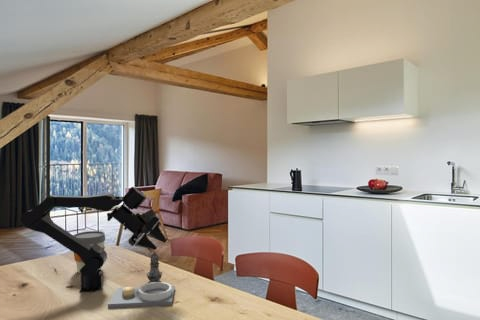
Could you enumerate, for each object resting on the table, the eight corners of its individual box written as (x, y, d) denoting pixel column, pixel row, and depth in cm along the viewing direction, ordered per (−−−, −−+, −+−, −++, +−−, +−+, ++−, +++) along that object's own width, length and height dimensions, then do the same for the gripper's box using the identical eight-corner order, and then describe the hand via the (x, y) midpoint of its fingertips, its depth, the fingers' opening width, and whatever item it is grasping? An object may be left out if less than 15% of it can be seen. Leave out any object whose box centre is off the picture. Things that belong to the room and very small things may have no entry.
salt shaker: (158, 286, 125) (158, 254, 125) (143, 285, 126) (143, 253, 126) (164, 280, 131) (165, 250, 131) (150, 279, 132) (150, 248, 132)
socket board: (107, 307, 108) (107, 297, 108) (117, 291, 121) (117, 282, 121) (171, 305, 110) (171, 295, 110) (174, 289, 123) (174, 280, 123)
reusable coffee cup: (111, 268, 144) (111, 233, 144) (84, 277, 133) (84, 239, 133) (93, 263, 151) (93, 229, 150) (66, 271, 140) (66, 235, 140)
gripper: (150, 194, 124) (182, 221, 126) (132, 212, 137) (162, 237, 139) (131, 215, 116) (166, 244, 118) (114, 233, 129) (146, 258, 131)
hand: (160, 245), depth 127 cm, fingers open, 9 cm apart
